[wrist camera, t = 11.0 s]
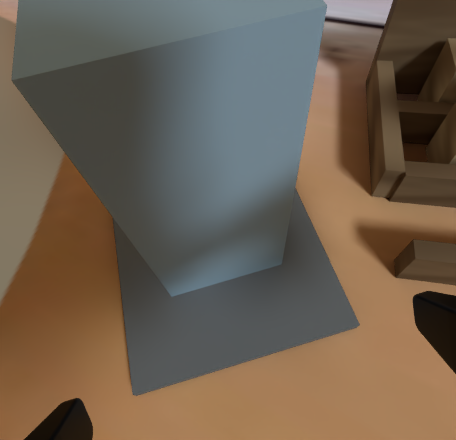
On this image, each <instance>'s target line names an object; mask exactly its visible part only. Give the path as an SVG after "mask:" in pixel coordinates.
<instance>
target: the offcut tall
mask: <svg viewBox="0 0 456 440" xmlns="http://www.w3.org/2000/svg"><path fill="white" fill-rule="evenodd" d="M425 150H426V156H427V163H439V164H452V165H456V102H455V104H454V105H453V107H452V108H451V110H450V112H449V113H448V115H447V116H446V118H445V119H444V121H443V122H442V124H441V125H440V127H439V129H438V130H437V132H436V133H435V135H434V136H433V138H432V139H431V141H430V142H429V144H428V146H427V147H426V149H425Z"/></svg>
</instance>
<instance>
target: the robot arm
mask: <svg viewBox="0 0 456 440" xmlns="http://www.w3.org/2000/svg"><path fill="white" fill-rule="evenodd" d="M413 308H414V317H415V323H416V326H417V328H418V330H419V331H420V332H421V334H422V335H423V336H424V337H425V338H426V340H427V341H428V342H429V343H430V344H431V345H432V347H433V348H434V349H435V350H436V351H437V353H438V354H439V355H440V356H441V357H442V358H443V360H444V361H445V362H446V363H447V364H448V366H449V367H450V368H451V369H452V370H453V371H454V373H455V374H456V296H454V295H448V294H443V293H438V292H432V291H426V292H422V293H419V294H416V295H414V297H413ZM92 437H93V426H92V422H91V420H90V418H89V415H88V413H87V411H86V408H85V406H84V404H83V402H82V400H81V399H79V398H75V399H72V400H68V401H65V402H63V403H61V404H60V405H59V406H58V407H57V408H56V409H55V410H54V411H53V412H52V413H51V414H50V415H49V416H48V417H47V418H46V419H45V420H44V421H42V422H41V423H40V424H39V425H38V426H37V427H36V428H35V429H34V430H33V431H32V432H31V433H30V434H29V435H28V436H27V437H26V438H25V439H24V440H92Z"/></svg>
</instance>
